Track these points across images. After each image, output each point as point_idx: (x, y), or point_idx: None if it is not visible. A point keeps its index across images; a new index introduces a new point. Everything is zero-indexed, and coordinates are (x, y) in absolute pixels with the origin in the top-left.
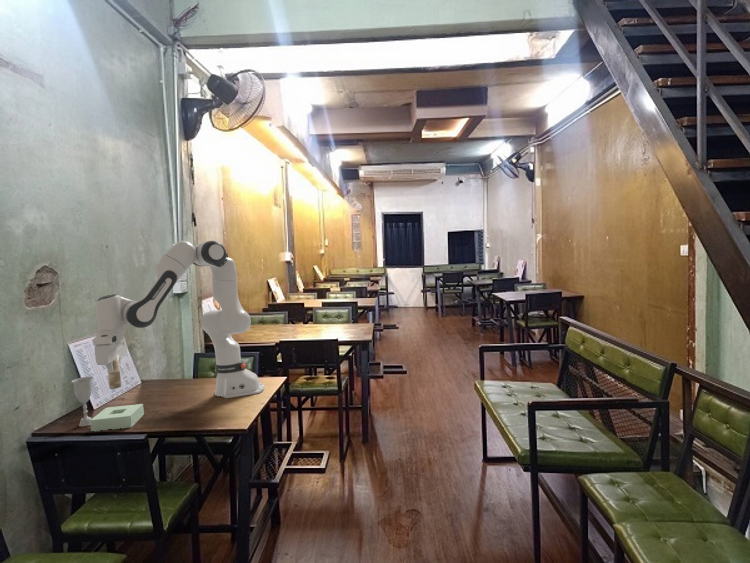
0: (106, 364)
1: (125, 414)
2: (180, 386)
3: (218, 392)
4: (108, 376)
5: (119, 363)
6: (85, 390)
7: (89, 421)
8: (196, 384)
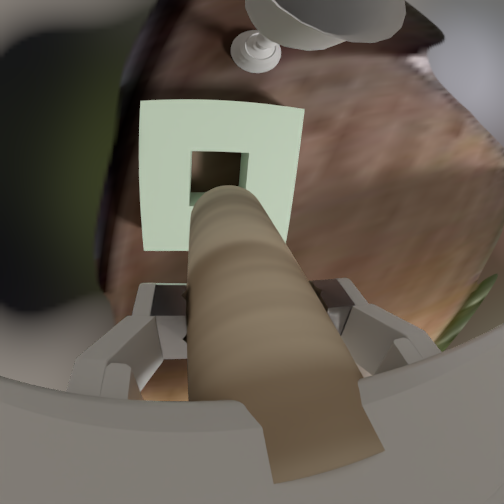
0: (79, 375)
1: (165, 226)
2: (457, 261)
3: None
4: (216, 226)
5: (351, 351)
6: (260, 21)
7: (244, 62)
8: (445, 293)
